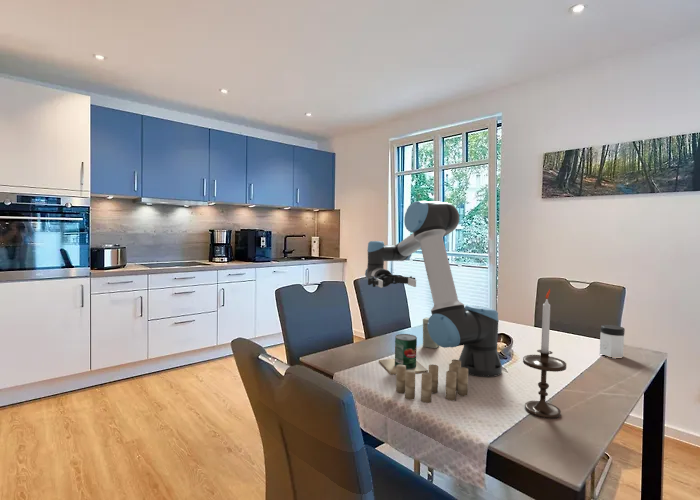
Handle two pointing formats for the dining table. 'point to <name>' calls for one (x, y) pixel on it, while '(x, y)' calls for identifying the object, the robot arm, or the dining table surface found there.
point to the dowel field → (433, 382)
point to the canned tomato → (405, 350)
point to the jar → (612, 340)
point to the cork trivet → (390, 367)
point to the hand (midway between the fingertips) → (398, 283)
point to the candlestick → (544, 370)
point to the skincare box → (427, 336)
